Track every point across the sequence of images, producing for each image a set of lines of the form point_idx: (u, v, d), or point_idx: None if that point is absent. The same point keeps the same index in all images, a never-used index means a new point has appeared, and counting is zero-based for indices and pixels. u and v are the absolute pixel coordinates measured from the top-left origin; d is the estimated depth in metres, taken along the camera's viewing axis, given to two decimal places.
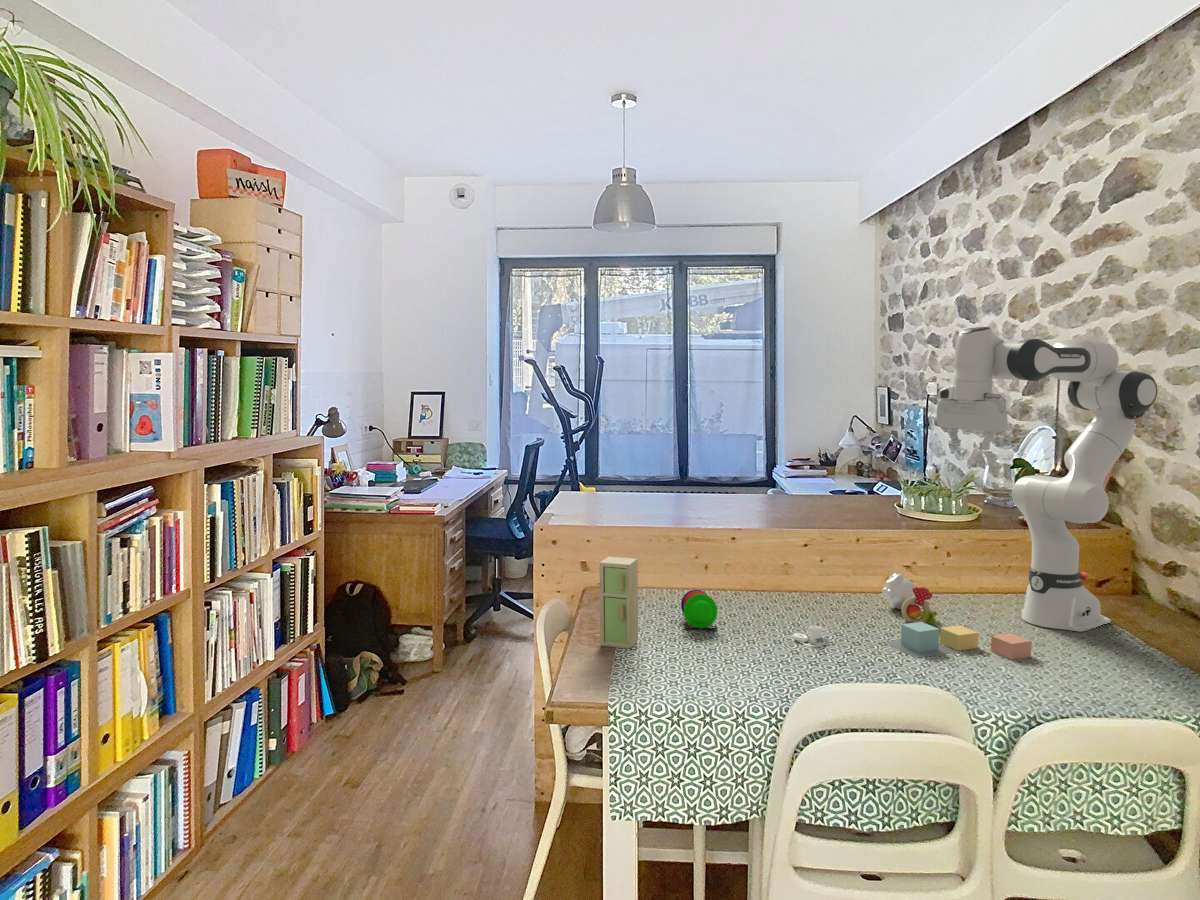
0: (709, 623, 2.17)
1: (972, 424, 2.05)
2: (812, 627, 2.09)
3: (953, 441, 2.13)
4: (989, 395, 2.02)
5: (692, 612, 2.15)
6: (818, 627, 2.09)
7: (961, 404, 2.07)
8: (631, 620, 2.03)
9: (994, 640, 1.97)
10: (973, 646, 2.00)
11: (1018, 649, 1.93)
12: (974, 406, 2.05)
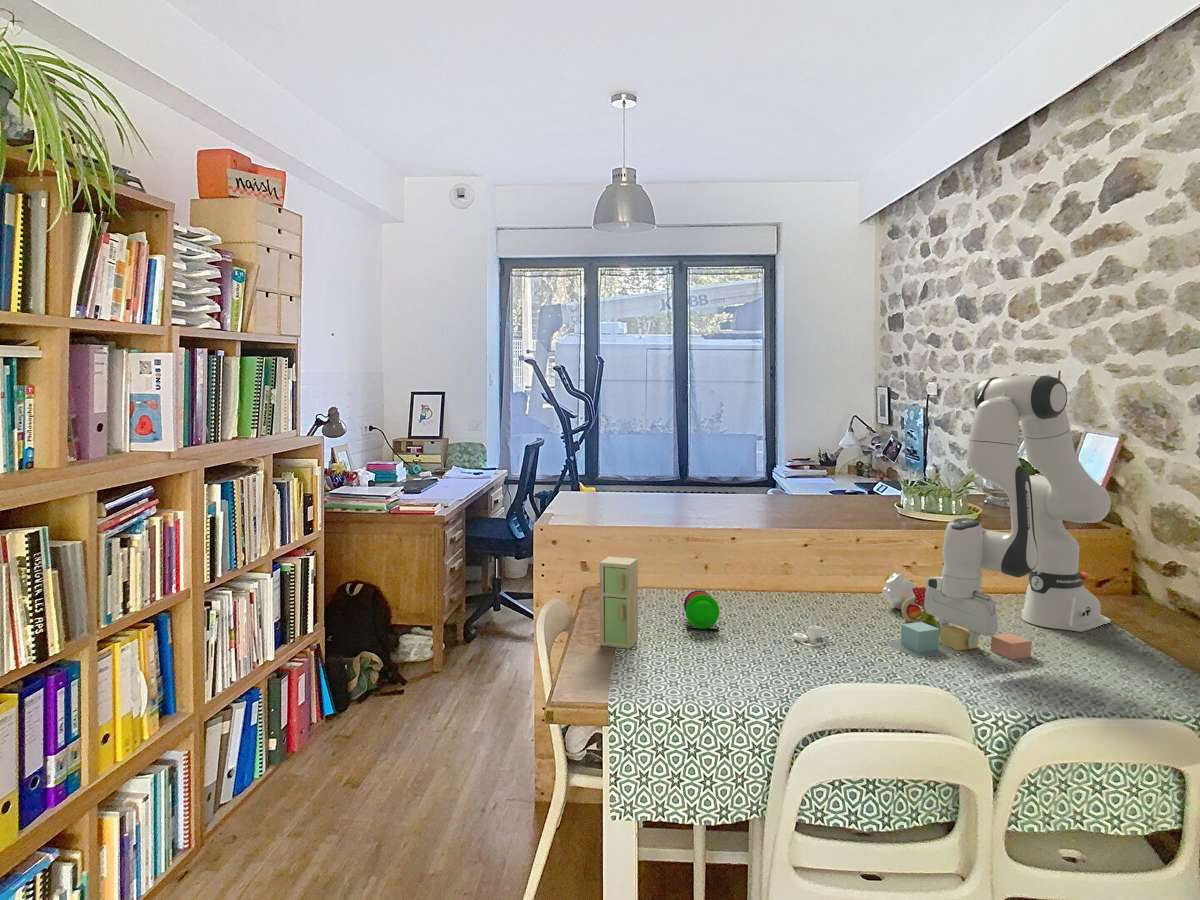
0: (711, 624, 2.16)
1: (961, 621, 1.99)
2: (812, 627, 2.09)
3: None
4: (978, 594, 1.95)
5: (694, 612, 2.15)
6: (818, 627, 2.09)
7: (950, 599, 2.00)
8: (631, 620, 2.03)
9: (994, 640, 1.97)
10: None
11: (1018, 649, 1.93)
12: (963, 603, 1.98)
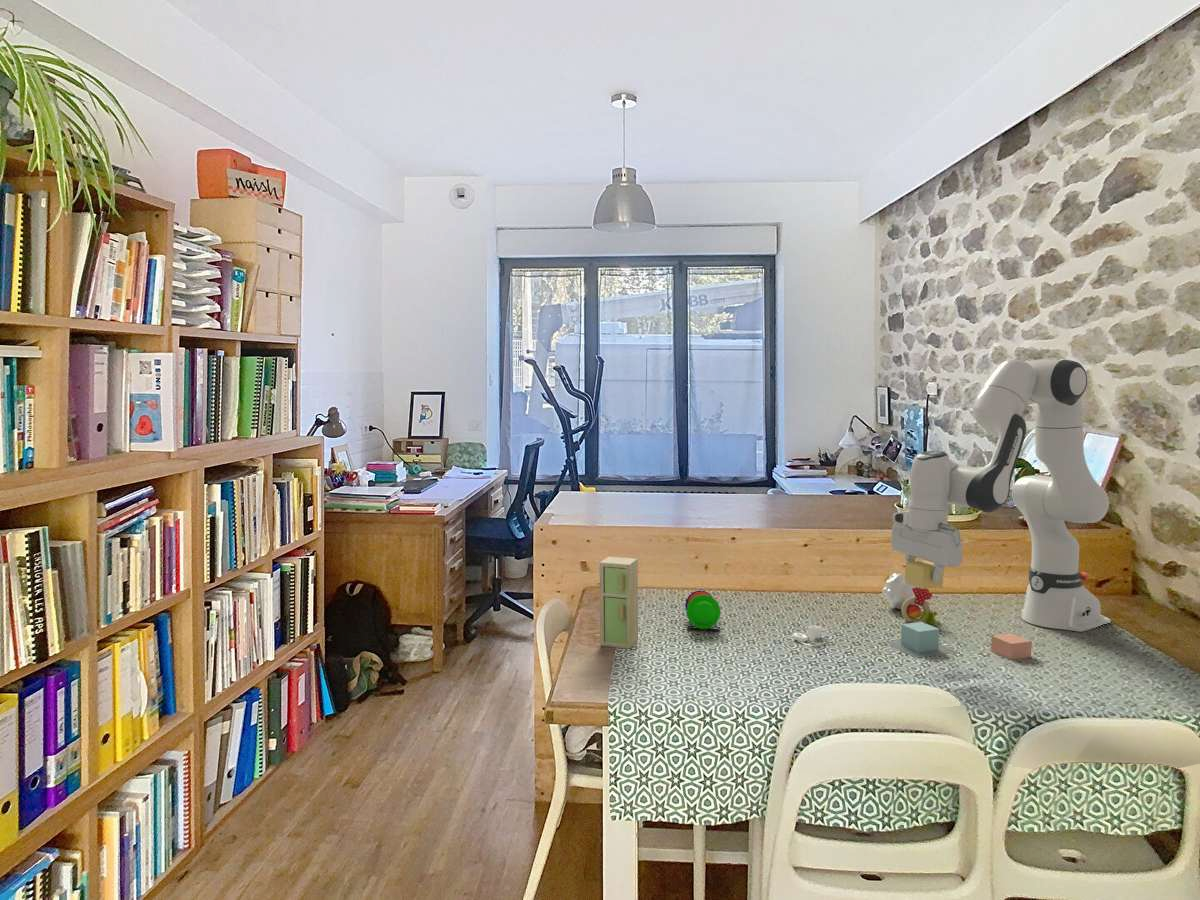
0: (712, 624, 2.16)
1: (926, 554, 1.95)
2: (811, 627, 2.10)
3: None
4: (944, 526, 1.92)
5: (694, 613, 2.15)
6: (817, 627, 2.09)
7: (915, 532, 1.97)
8: (631, 620, 2.03)
9: (994, 640, 1.97)
10: None
11: (1018, 649, 1.93)
12: (928, 536, 1.94)
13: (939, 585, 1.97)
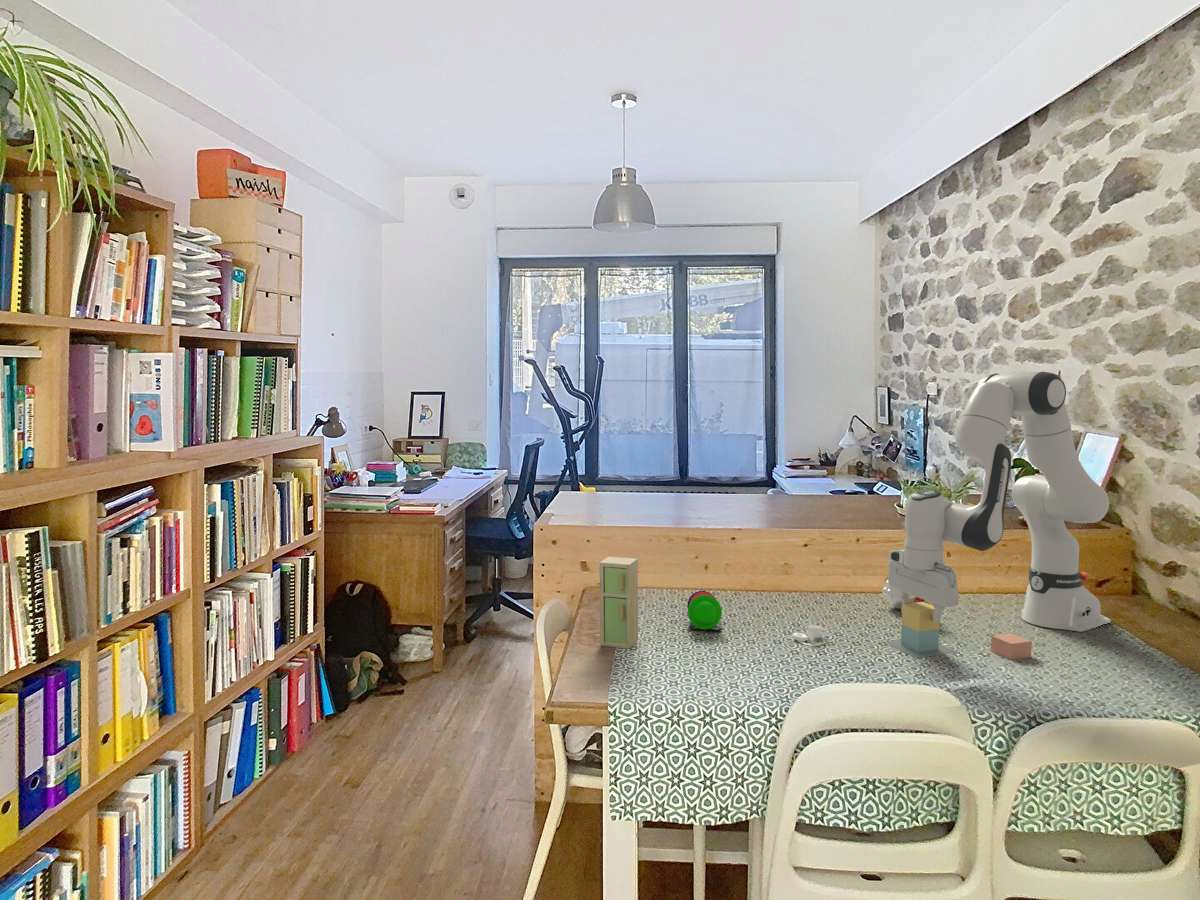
0: (713, 624, 2.16)
1: (923, 593, 1.96)
2: (811, 626, 2.10)
3: None
4: (939, 566, 1.93)
5: (696, 613, 2.15)
6: (817, 626, 2.09)
7: (911, 571, 1.98)
8: (631, 620, 2.03)
9: (994, 640, 1.97)
10: (935, 622, 1.98)
11: (1018, 649, 1.93)
12: (924, 575, 1.96)
13: (936, 627, 1.98)
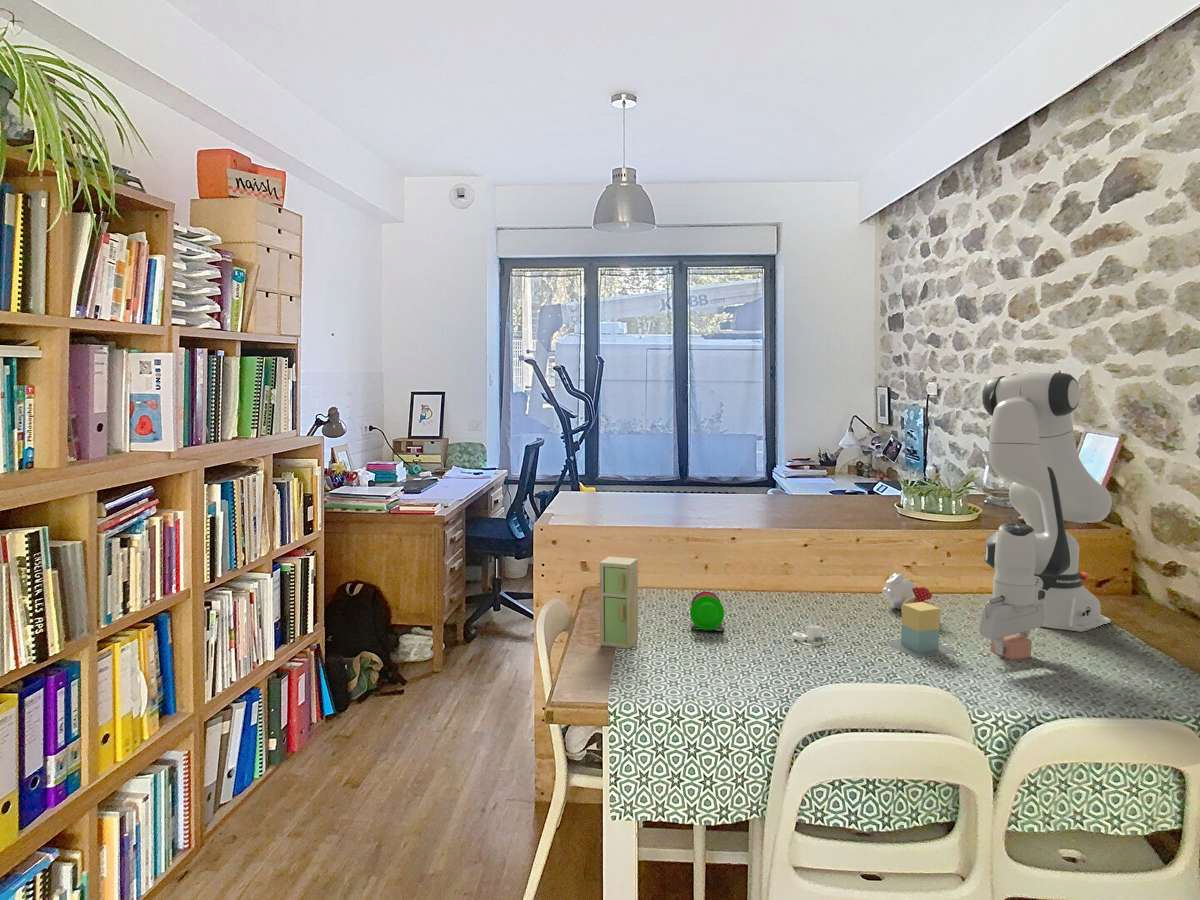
0: (715, 625, 2.15)
1: None
2: (811, 626, 2.10)
3: None
4: None
5: (698, 614, 2.14)
6: (817, 626, 2.10)
7: None
8: (631, 620, 2.03)
9: None
10: (935, 622, 1.98)
11: (1018, 648, 1.93)
12: None
13: (936, 627, 1.98)
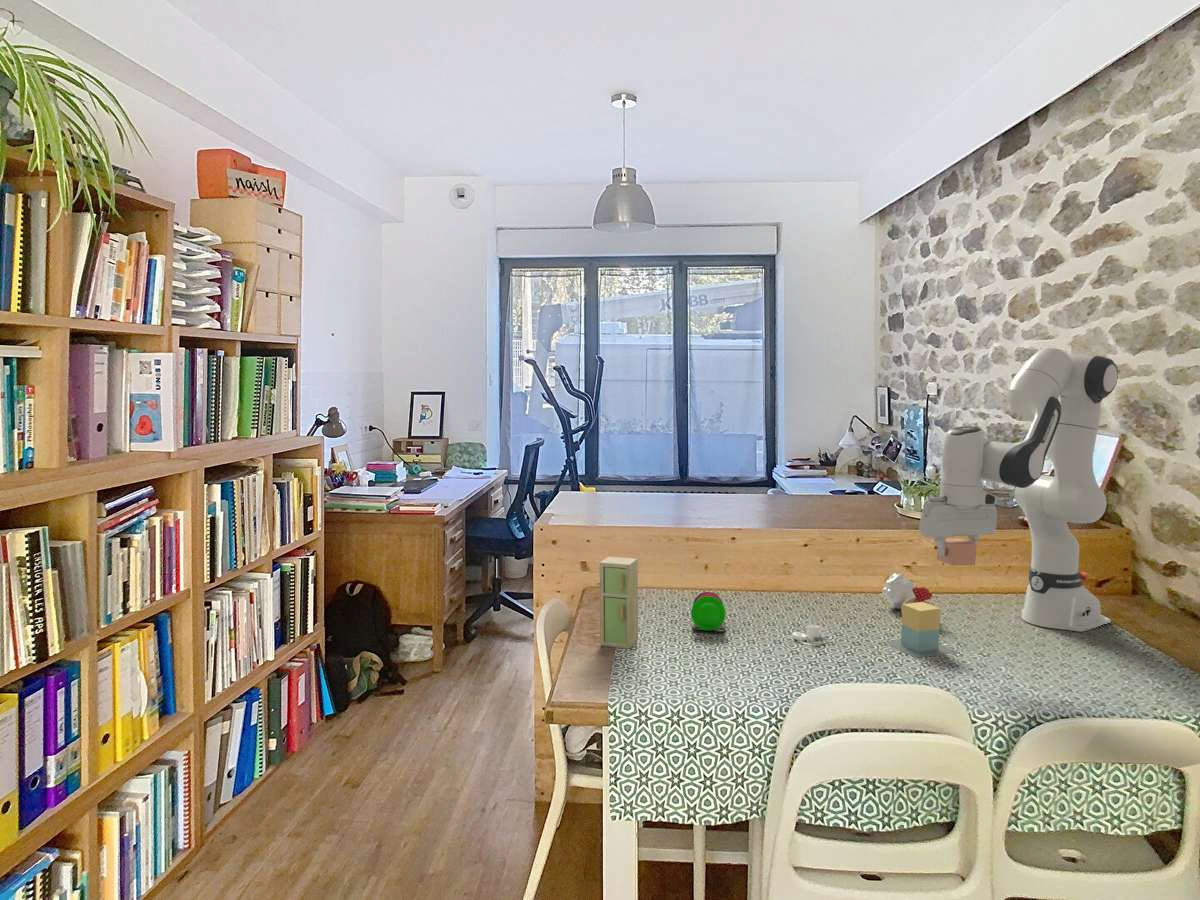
0: (716, 626, 2.14)
1: None
2: (811, 626, 2.10)
3: None
4: None
5: (699, 614, 2.14)
6: (817, 626, 2.10)
7: None
8: (631, 620, 2.03)
9: None
10: (935, 622, 1.98)
11: (960, 550, 1.93)
12: None
13: (936, 627, 1.98)
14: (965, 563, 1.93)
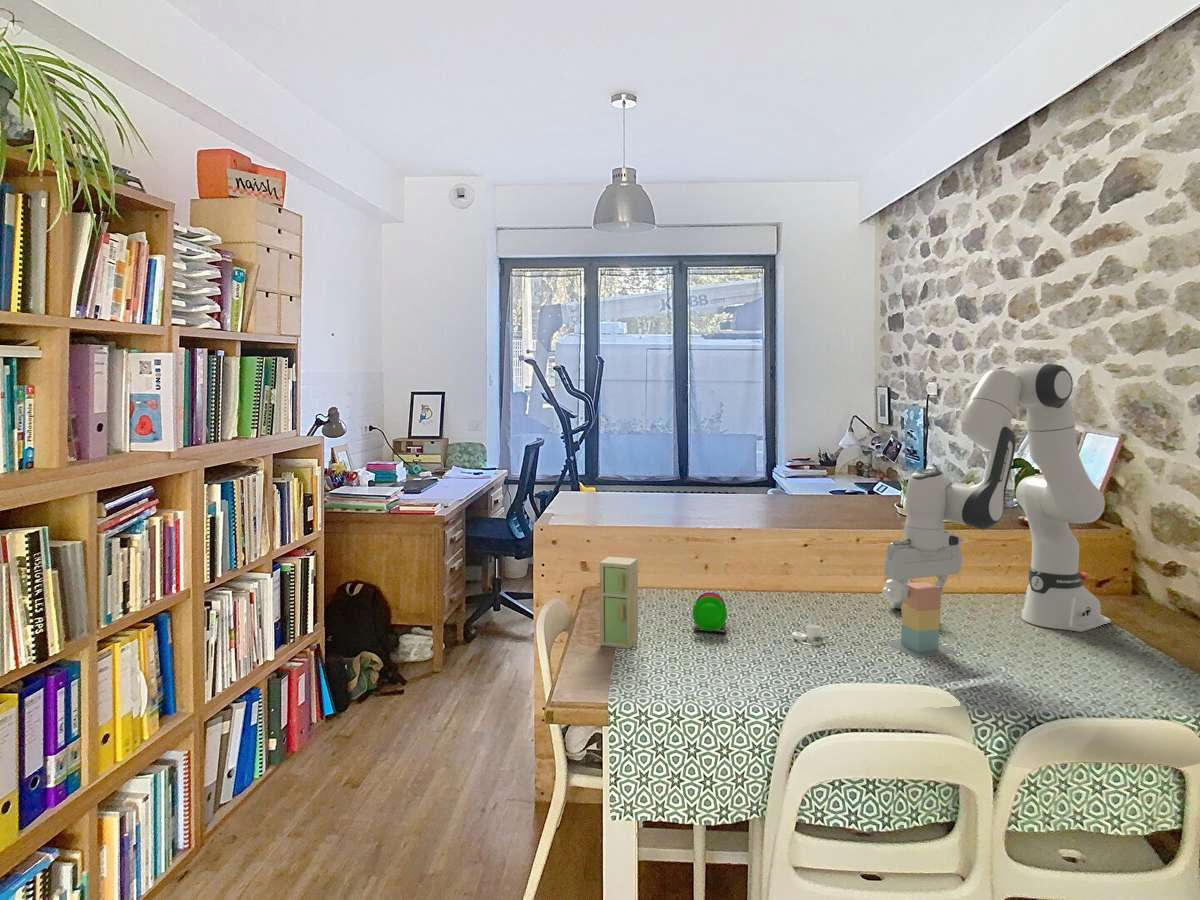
0: (718, 627, 2.14)
1: None
2: (810, 626, 2.10)
3: None
4: None
5: (700, 614, 2.13)
6: (816, 626, 2.10)
7: None
8: (631, 620, 2.03)
9: None
10: (935, 622, 1.98)
11: (925, 595, 1.96)
12: None
13: (936, 627, 1.98)
14: (930, 608, 1.97)
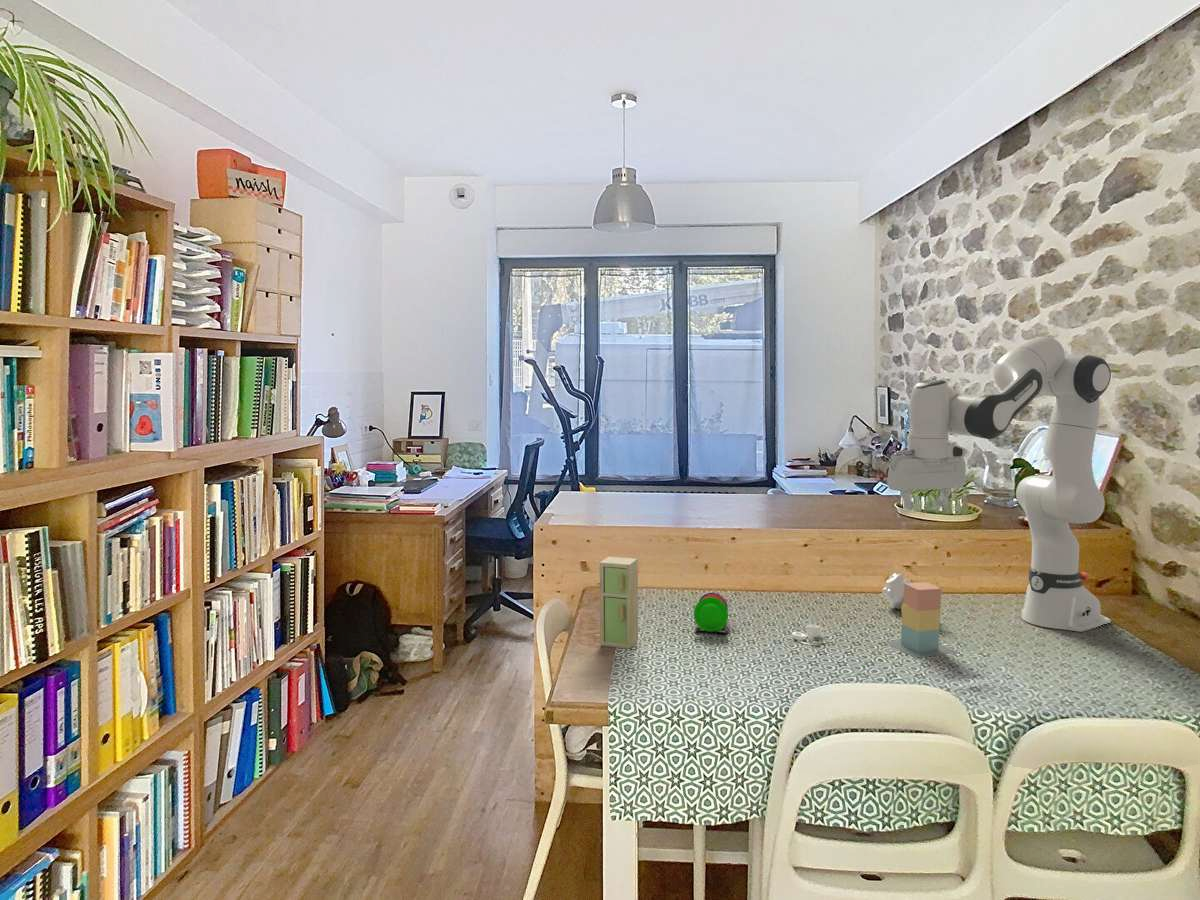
0: (719, 627, 2.13)
1: None
2: (810, 626, 2.10)
3: None
4: None
5: (701, 615, 2.13)
6: (816, 626, 2.10)
7: None
8: (631, 620, 2.03)
9: (906, 587, 2.01)
10: (935, 622, 1.98)
11: (925, 595, 1.96)
12: None
13: (936, 627, 1.98)
14: (930, 608, 1.97)
